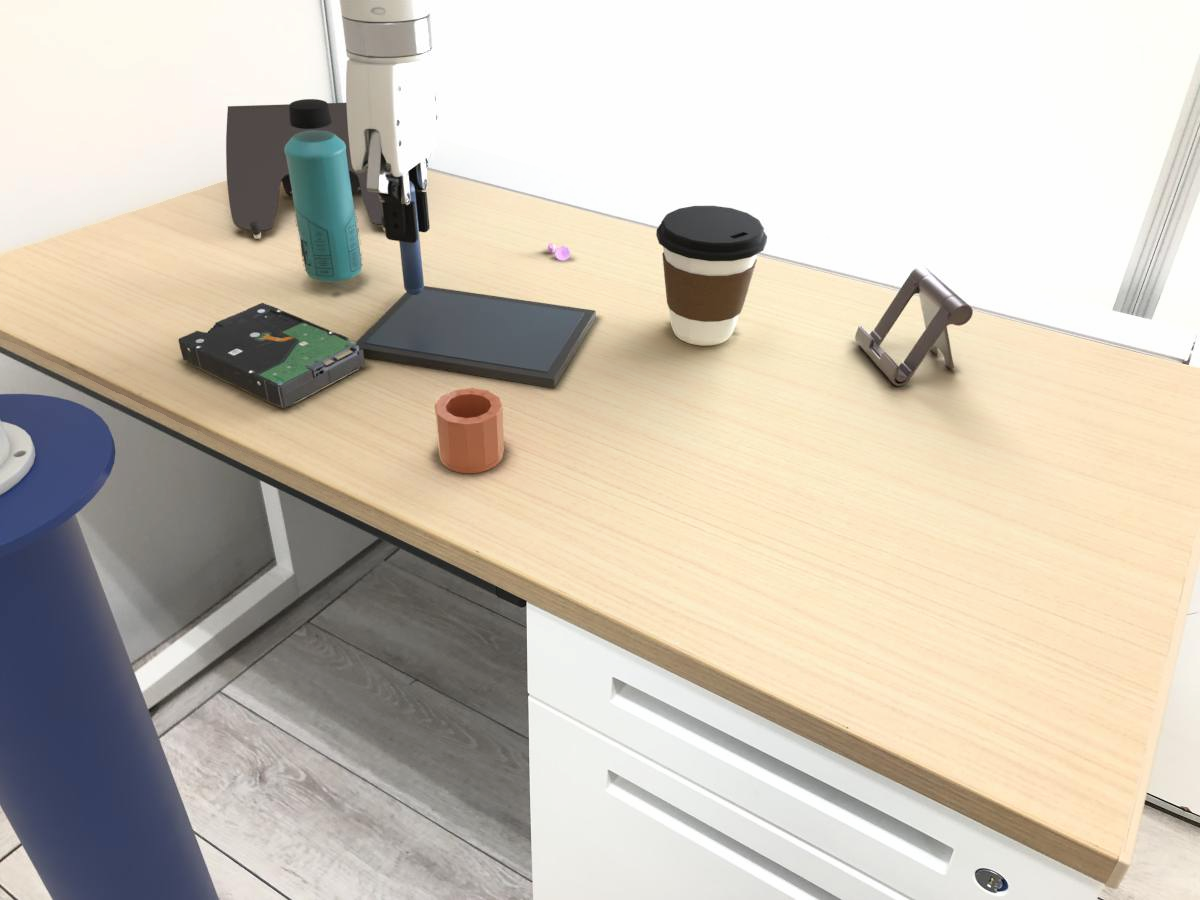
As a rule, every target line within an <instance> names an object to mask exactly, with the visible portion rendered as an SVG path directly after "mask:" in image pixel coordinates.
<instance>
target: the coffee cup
mask: <svg viewBox="0 0 1200 900" xmlns="http://www.w3.org/2000/svg"><path fill="white" fill-rule="evenodd" d="M655 235H656V239H657V241H658V244H659V245H660V246H662V248H663V252H662V255H661V256H662V265H663V275H664V276H663V277H664V285H665V296H666V303H667V307H668V308H669V321H670V325H671V329H672V331H673V333H674V336H675V337H676V338H678V339H679V340H681V341H682V342H685V343H688V344H689V345H696V346H701V347H702V346H704V347H705V346H708V347H709V346H717V345H720V344H723V343H725V342H726V341H728V340H729V339H730V338H731V336H732V335H733V333H734V331H735V329H736V326H737V322H738V320H739V316H740V314H741V313H742V310H743V308H744V306H745V303H746V297H747V294H748V292H749V288H750V284H751V282H752V278H753V275H754V271H755V268H756V264H757V261H758V260H757V255H758V254H760V253H762V252H763V251H764V250H765V247H766V244H767V241H768V236H767V234H766V232H765V228H764V226H763V224H762V223H761V221H760V220H759V218H756V217H755V216H753V215H752V214H749V213H748V212H745V211H743V210H739V209H735V208H733V207H727V206H726V207H725V206H718V205H692V206H687V207H685V206H684V207H680V208H677V209H675V210H673V211H670V212H668V213H667V214H665V216H664V217H663V218H662V220H661V221H660V224H659V226H658V227H657V228H656V233H655Z"/></svg>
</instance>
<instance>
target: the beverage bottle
mask: <svg viewBox="0 0 1200 900" xmlns="http://www.w3.org/2000/svg"><path fill="white" fill-rule="evenodd" d="M327 103H328V102H327V101H325V100H322V99H318V98H305V99H297V100H294V101H292V102H291V103H289V104H290V105H289V113H290V125H291V126H293V127H295V128H301V129H315V128H322V127H326V126H328V125H330V124H331V123H332V120H331V115H330V112H329V107H328V104H327ZM284 151H285V154H286V159H287V164H288V170H289V176H290V182H291V188H292V191H291V189H290V192H291V193H292V196H293V197H292V205H293V207H294V211H295V212H294V213H293V214H294V215H293V216H295V227H297V228H296V230H297V231H298V237H297V239H298V240H299V246H300V250H299V251H300V252H301V254H300V255H301V259H302V262H303V264H302V265H303V266H302V267H304V268H303V269H304V272H306V274H307V276H308V277H309V278H310V279H312V280H315V281H317V282H318V281H319V282H324V283H325V282H326V283H335V282H343V281H347V280H350V279H352V278H355V277H357V276H358V275H359V274H360V273H361V272H362V266H363V254H362V253H363V252H362V250H361V244H362V243H361V242H360V239H361V238H360V235H359V234H360V231H359V228H358V226H357V225H358V224H357V223H358V218H357V216H358V214H357V211H356V207H355V205H356V204H355V202H354V194H353V193H352V191H351V184H350V177H349V170H348V163H347V156H346V145H345V143H344V142H343V141H342V140H341V139H340V138H339V137H337V136H336V135H335V134H333V133H331V132H328V131H320V130H313V131H304V132H300V133H297V134H295V135H294V136H293V137H292V138H291V139H290V140H289V141H288V143H287V144H286V146H285V148H284Z"/></svg>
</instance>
